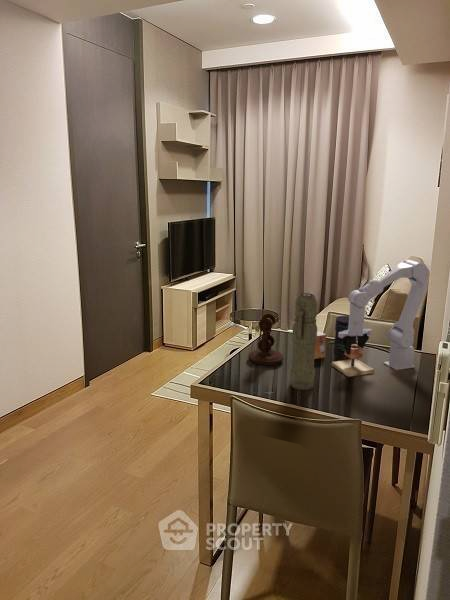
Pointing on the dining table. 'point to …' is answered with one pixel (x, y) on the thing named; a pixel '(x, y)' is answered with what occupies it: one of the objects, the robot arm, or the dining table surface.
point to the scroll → (266, 344)
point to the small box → (320, 345)
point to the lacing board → (352, 367)
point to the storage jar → (340, 326)
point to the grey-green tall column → (304, 342)
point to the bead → (355, 352)
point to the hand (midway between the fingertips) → (353, 352)
